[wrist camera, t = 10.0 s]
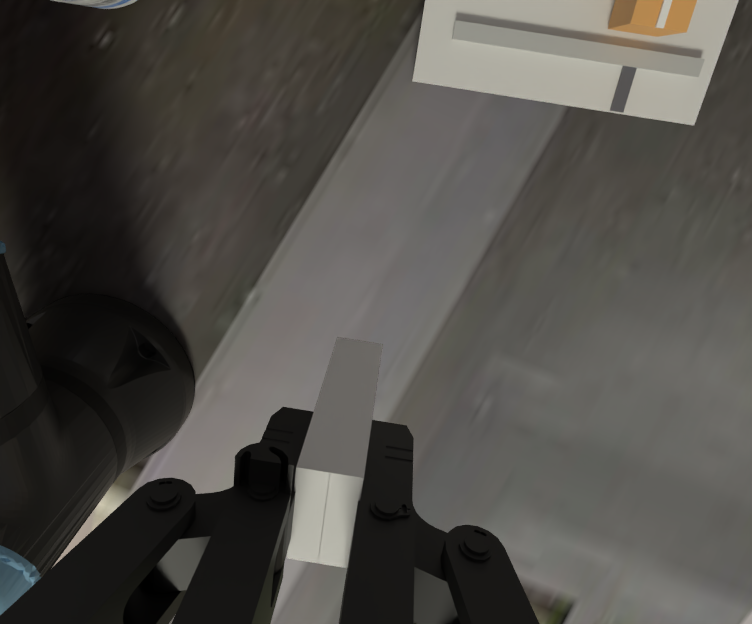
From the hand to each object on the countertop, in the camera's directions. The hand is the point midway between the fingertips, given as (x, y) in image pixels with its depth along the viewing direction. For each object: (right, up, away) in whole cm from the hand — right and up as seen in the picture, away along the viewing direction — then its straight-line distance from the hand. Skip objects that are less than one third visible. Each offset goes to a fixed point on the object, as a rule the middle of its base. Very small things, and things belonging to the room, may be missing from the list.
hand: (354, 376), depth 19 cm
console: (+13, +22, +16) cm, 30 cm away
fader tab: (+16, +20, +14) cm, 29 cm away
